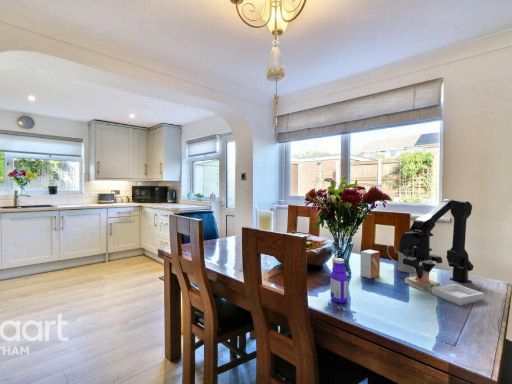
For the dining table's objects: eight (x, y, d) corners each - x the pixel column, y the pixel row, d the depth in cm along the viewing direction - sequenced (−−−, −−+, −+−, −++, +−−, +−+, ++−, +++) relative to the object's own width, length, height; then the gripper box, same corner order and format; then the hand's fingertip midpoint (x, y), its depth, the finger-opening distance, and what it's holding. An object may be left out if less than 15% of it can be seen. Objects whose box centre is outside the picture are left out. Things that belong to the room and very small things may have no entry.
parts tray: (454, 290, 125) (454, 283, 125) (484, 300, 113) (484, 293, 113) (431, 294, 120) (431, 287, 120) (459, 305, 109) (459, 297, 109)
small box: (370, 278, 141) (370, 253, 140) (360, 275, 146) (360, 251, 146) (380, 276, 145) (380, 251, 145) (369, 272, 150) (369, 249, 150)
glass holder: (416, 273, 149) (417, 245, 149) (388, 270, 154) (388, 243, 154) (413, 268, 158) (413, 242, 157) (386, 266, 162) (386, 240, 162)
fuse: (420, 283, 133) (420, 269, 133) (429, 287, 129) (429, 272, 129) (415, 284, 132) (415, 270, 132) (424, 287, 128) (424, 272, 128)
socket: (419, 280, 137) (419, 275, 137) (440, 288, 127) (440, 283, 127) (405, 283, 134) (405, 278, 134) (425, 291, 124) (425, 285, 124)
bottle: (350, 302, 113) (350, 260, 112) (340, 305, 110) (340, 262, 110) (338, 296, 119) (338, 256, 119) (327, 298, 117) (327, 257, 116)
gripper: (422, 241, 141) (422, 271, 141) (393, 243, 135) (393, 275, 135) (443, 245, 130) (442, 278, 130) (412, 248, 124) (412, 282, 125)
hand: (422, 278), depth 130 cm, fingers closed on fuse, 3 cm apart
